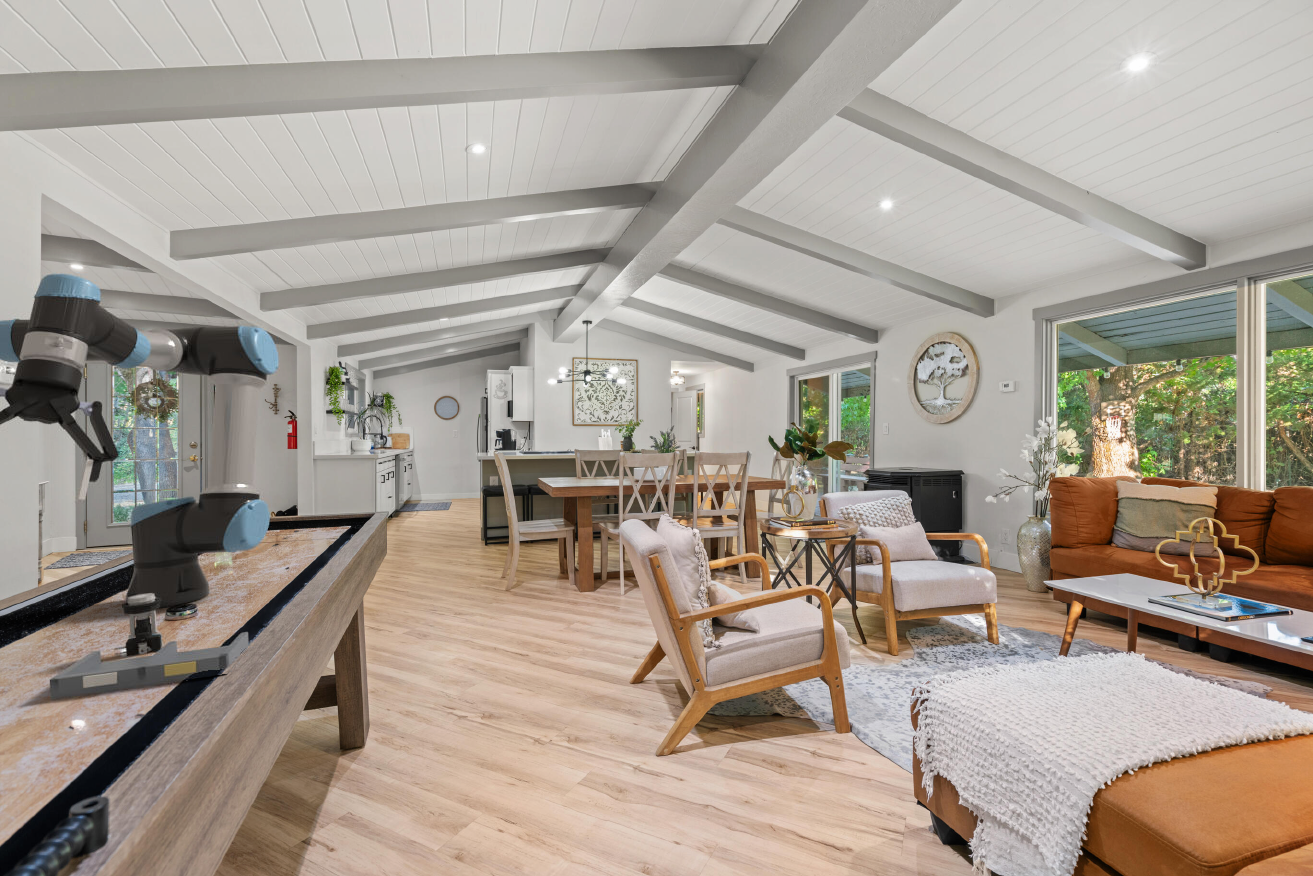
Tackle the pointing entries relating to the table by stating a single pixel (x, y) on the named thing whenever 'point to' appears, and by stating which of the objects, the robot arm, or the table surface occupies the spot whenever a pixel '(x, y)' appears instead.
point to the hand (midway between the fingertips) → (19, 496)
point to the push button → (142, 625)
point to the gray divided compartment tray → (141, 669)
